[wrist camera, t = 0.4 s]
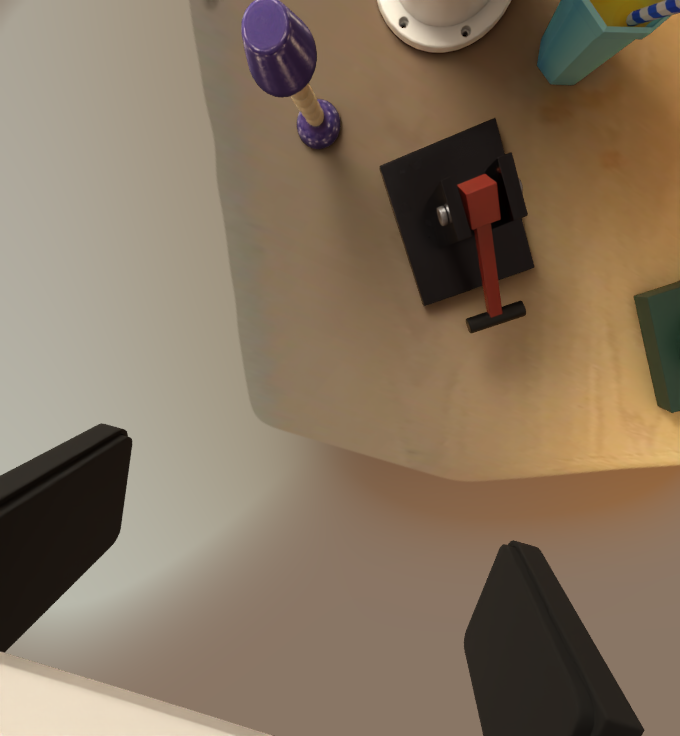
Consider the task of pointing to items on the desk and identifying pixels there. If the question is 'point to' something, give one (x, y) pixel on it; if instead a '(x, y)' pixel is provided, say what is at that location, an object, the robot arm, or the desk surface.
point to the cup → (595, 34)
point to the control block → (662, 341)
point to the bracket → (455, 211)
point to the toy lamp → (288, 67)
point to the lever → (486, 250)
